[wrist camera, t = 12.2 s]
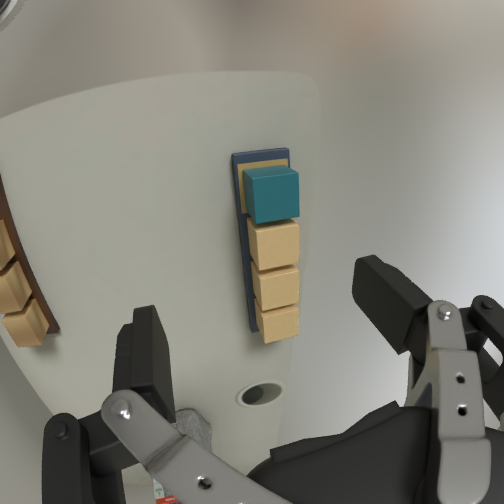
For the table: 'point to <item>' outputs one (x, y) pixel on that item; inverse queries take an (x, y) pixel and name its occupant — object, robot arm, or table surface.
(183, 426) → the decorative stone
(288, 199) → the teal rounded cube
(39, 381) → the table surface
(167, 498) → the ink box
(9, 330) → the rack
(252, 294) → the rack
